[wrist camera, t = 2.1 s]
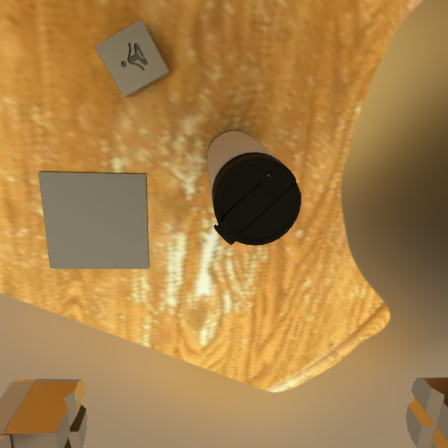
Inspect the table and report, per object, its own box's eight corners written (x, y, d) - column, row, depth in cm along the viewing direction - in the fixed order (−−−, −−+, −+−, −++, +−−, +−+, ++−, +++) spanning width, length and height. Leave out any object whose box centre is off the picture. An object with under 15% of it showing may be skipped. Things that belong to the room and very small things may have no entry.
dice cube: (172, 74, 41) (168, 71, 36) (132, 96, 42) (123, 97, 37) (147, 28, 39) (140, 19, 35) (106, 52, 40) (94, 46, 35)
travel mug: (193, 158, 44) (189, 206, 25) (235, 118, 43) (265, 138, 24) (229, 196, 46) (250, 268, 27) (270, 159, 45) (324, 207, 26)
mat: (39, 171, 43) (38, 172, 43) (146, 173, 44) (145, 174, 44) (51, 266, 47) (50, 268, 47) (149, 267, 48) (148, 268, 48)
